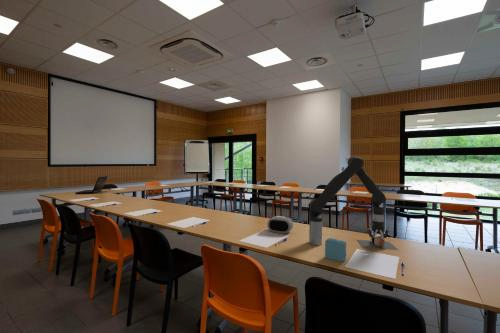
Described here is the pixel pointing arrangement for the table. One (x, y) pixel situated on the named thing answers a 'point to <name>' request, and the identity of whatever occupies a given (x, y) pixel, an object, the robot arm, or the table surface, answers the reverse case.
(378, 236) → the maple block
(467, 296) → the table surface
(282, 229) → the alarm clock
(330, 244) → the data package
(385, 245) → the charcoal mat
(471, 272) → the table surface
